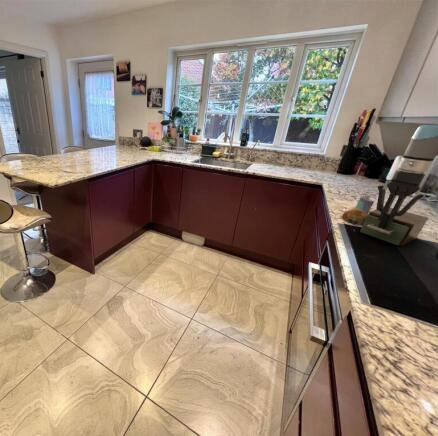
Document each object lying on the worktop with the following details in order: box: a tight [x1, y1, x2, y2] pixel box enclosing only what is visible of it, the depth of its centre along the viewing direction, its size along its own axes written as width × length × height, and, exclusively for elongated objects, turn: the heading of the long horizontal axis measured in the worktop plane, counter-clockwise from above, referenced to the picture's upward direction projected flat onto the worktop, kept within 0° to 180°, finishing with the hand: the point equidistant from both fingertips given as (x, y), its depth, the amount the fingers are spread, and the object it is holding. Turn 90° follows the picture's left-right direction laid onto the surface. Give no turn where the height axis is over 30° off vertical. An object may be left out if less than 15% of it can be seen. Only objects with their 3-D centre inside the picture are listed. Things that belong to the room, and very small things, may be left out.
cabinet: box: [368, 207, 429, 247], centre depth 99 cm, size 16×14×10 cm
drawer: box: [359, 215, 410, 246], centre depth 96 cm, size 20×13×8 cm, turn 118°
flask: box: [354, 194, 375, 214], centre depth 120 cm, size 9×3×11 cm, turn 164°
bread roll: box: [341, 207, 369, 226], centre depth 112 cm, size 10×10×8 cm
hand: (380, 229), depth 93 cm, fingers closed
